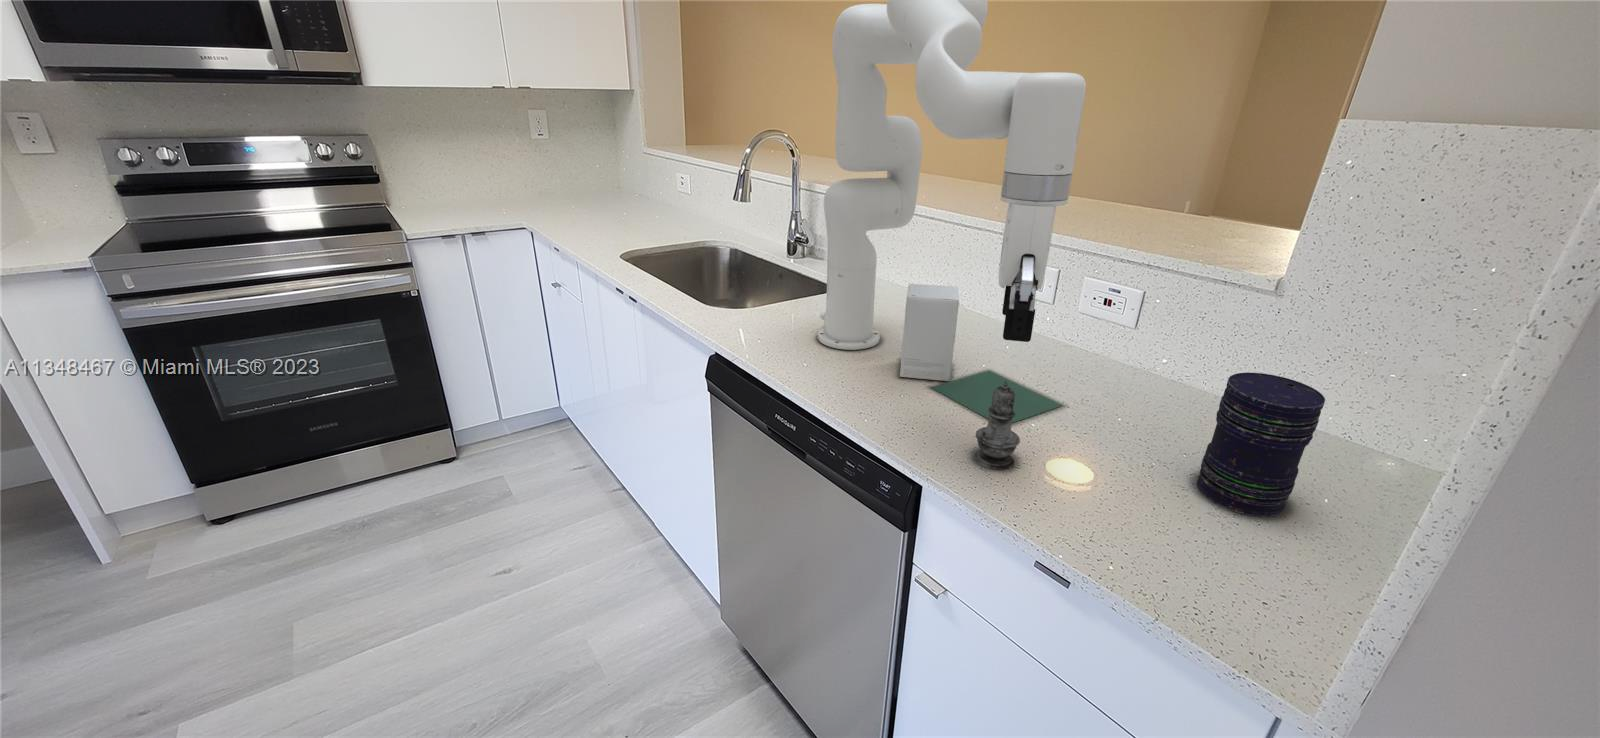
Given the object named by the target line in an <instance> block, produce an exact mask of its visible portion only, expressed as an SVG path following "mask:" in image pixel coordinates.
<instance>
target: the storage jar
mask: <svg viewBox="0 0 1600 738" xmlns="http://www.w3.org/2000/svg"><path fill="white" fill-rule="evenodd" d="M1325 403H1326V397H1325V396H1324V395H1323V393H1321V392H1320V391H1319V390H1318V389H1315V388H1314V387H1312V386H1310V385H1308V384H1305V383H1302V382H1300V381H1297V380H1295V379H1291V378H1288V377H1283V376H1280V375H1275V374H1270V373H1263V372H1262V373H1261V372H1239V373H1234V374H1231V375H1230V376H1229V377H1228V379H1227V382H1226V387H1225V388H1224V391H1223V395H1222V396H1221V398H1220V402H1219V404H1218V410H1217V411H1216V417H1215V420H1216V425H1215V429H1214V431H1213V435H1212V438H1211V441H1210V442H1209V443H1208V444H1207V447H1206V449H1205V453H1204V455H1203V457H1202V459H1201V463H1200V469H1199V475H1198V477H1197V479H1196V488H1197V489H1198V491H1199V492H1200V493H1201V494H1202V495H1203V496H1204V497H1205V498H1207V499H1208V500H1209V501H1211V502H1212V503H1214V504H1216V505H1218V506H1220V507H1222V508H1223V509H1226V510H1228V511H1232V512H1235V513H1238V514H1240V515H1241V514H1242V515H1245V516H1251V517H1258V518H1259V517H1260V518H1270V517H1275V516H1278V515H1280V514H1282V513H1283V512H1284V511H1285V508H1286V505H1287V502H1288V500H1289V498H1290V495H1291V494H1292V493H1293V491H1294V488H1295V485H1296V479H1297V478H1298V475H1299V465H1300V462H1301V459H1302V457H1303V454H1304V451H1305V448H1306V447H1307V446H1308V445H1309V444H1310V443H1311V441H1312V440H1313V438H1314V433H1315V431H1316V430H1317V427H1318V425H1319V422H1320V416H1321V414H1322V411H1321V410H1323V408H1324V406H1325Z"/></svg>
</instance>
